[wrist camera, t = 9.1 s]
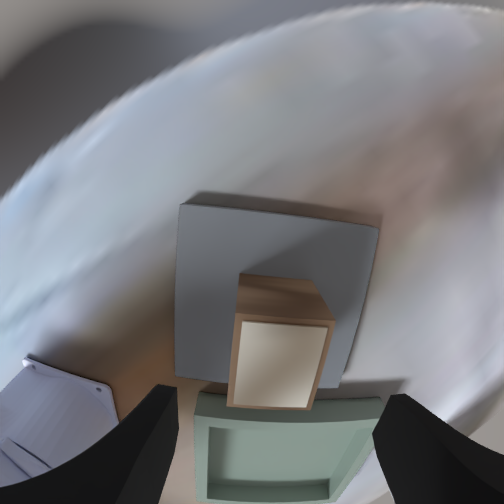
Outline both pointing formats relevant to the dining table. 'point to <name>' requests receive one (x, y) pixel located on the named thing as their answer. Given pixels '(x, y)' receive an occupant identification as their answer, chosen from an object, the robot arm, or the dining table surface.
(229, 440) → the bin
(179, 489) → the dining table surface
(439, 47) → the dining table surface
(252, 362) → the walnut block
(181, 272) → the slate mat
